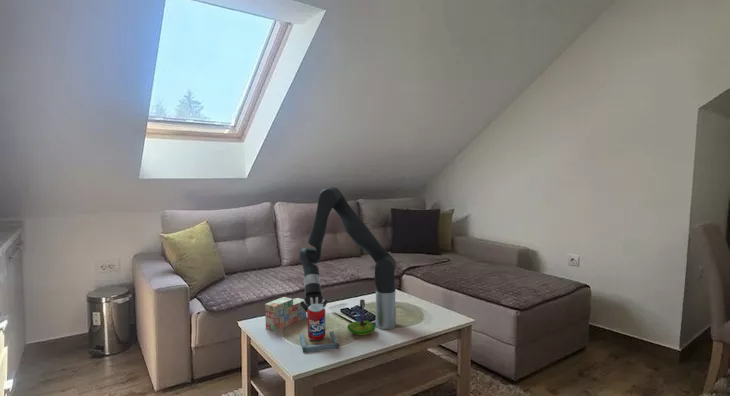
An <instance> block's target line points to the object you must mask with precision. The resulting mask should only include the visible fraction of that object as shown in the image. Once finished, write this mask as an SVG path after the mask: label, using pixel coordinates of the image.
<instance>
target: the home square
mask: <svg viewBox="0 0 730 396" xmlns="http://www.w3.org/2000/svg"><path fill="white" fill-rule="evenodd" d="M304 336H305V335H304V334H303V333H300V334H299V341H300V344H301V348H302V349H301V350H302V353H312V352H313V353H314V352H320V351H321V352H322V351H328V350H329V351H330V350H339V349H340V343H339V341H338V339H337V337H336V333H335V332H334V330H331V331H329V336H330V340H331V343H323V344H321V343H319V344H313V345H307V344H306V340H305V337H304Z"/></svg>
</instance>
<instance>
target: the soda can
mask: <svg viewBox="0 0 730 396" xmlns="http://www.w3.org/2000/svg"><path fill="white" fill-rule="evenodd" d="M306 318H307V320H306V321H307V337H308V338H309V339H310V340H311V341H321V340H323V339H324V338H326V333H327V332H326V330H327V329H326V326H327V325H326V309H325V307H324V306H323V305H322V303H320V304H319V303H315V304H311V305H310V306H308V310H307V312H306Z"/></svg>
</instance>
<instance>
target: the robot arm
mask: <svg viewBox="0 0 730 396" xmlns="http://www.w3.org/2000/svg"><path fill="white" fill-rule="evenodd" d="M317 200H318V201H317V206H316V207H317V208H316V212H315V217H314V219H313V220H314V221H313V224H312V227H311V230H310V232H309V233H310V234H309V236H308V239H307V243H308V244H309V245H310V246H312V247H314V248H309V247H302V248H301V249H300V250H299V251H300V252H299V261H300V263H301V266H302V269H303V275H304V284H303V285H304V298H303V299H304V301H301V303H300V305H301V307H302V308H303V309H304V310H305V311H306V313H307V310H308V308H309V306H310V305H311V304H315V303H319V304H322V305H323V306H324V308H325V307H327V306H326V305H327V304H328V299H324V298H323V295H322V286H321V279H320V270H319V266H318V265H316V264H318V263H319V262H321V259H322V246H323V241H324V239H325V236H326V232H327V225H328V218H329V216H330V214H331V211H332V209H333V210H334V211H335V213H337V215H338V216H339V218H340V220H341V222H342V225H343V227H344V229H345V232H346V233H347V235H348V236H349V237H350V238H351V239H352V240H353V242H354V243H355V244H356V245H357V246H359V248H361V249H362V250H364V251H365V252H366V253H367V254H368V255H369V256H370V257H371V258H372V260H373V261H374V263H375V264H374V286H375V328H378V329H381V330H391V329H396V328H397V307H396V284H395V271H396V270H397V262H396V260H395V258H394V257H393V256H392V255H391V254H390V253H389V252H388V251H387V250H386V249H385V248H384V246H382V245H381V244H380V242H379V240H377V238H376V237H375V235H374V234H373V233H372V231H371V230H370V229H369V228H368V226H367V225H366V224H365V222H364V221H363V220H362V219H361V217H360V216H359V215H358V214H357V212H355V210H354V209H353V208H352V206H350V203H348V201H347V200H346V198H345V196H344V194H343V193H342V192H341V190H340V189H339V188H337V187H335V186H330V187H326V188H324V189H322V190H321V191H320V192H319V194H318V199H317ZM305 302H306V303H305Z"/></svg>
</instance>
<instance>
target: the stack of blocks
mask: <svg viewBox="0 0 730 396" xmlns="http://www.w3.org/2000/svg"><path fill="white" fill-rule="evenodd" d="M301 301H304V298H300V297H296V298H290V297H286V296H283V297H280V298H278V299H274V300H272V301H269V302H267V303H265V304H264V306H265V307H264V310H265V311H264V315H265V316H264V317H265V329H266V330H268V331H271V332H277V331H279V330H282V329H284V328H286V327H288V326H291V325H292V324H295V323H297V322H299V321H302V320H304V319H306V318H307V312H306V311H305V310H304V309H303V308H302V307H301V305H300V303H301ZM305 303H306V302H305ZM306 304H307V303H306Z"/></svg>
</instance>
